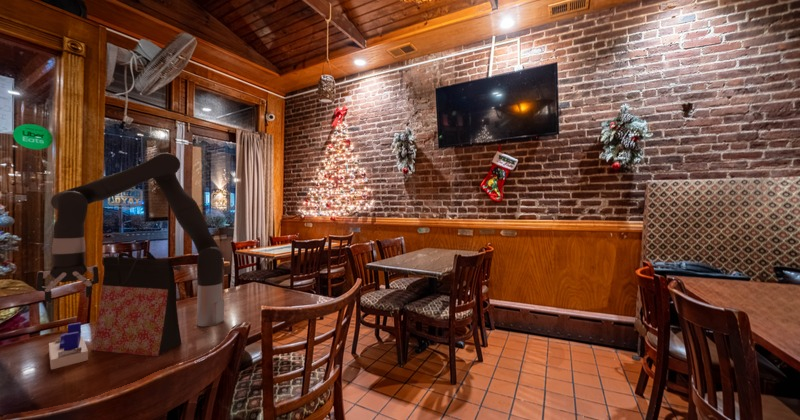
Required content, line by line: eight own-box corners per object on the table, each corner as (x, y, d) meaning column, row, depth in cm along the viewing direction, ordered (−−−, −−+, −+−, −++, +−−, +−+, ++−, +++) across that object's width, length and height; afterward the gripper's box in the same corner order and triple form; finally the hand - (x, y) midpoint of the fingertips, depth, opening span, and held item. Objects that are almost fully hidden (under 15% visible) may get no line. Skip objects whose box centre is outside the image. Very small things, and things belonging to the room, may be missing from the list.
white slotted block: (82, 344, 112) (82, 332, 112) (87, 360, 101) (88, 346, 101) (48, 351, 106) (49, 338, 106) (50, 369, 95) (51, 355, 95)
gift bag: (81, 354, 105) (83, 251, 105) (123, 336, 119) (125, 246, 119) (160, 361, 102) (162, 254, 101) (193, 342, 116) (195, 249, 116)
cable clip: (61, 342, 106) (62, 325, 106) (80, 339, 110) (80, 322, 110) (57, 355, 98) (57, 336, 98) (77, 351, 101) (77, 332, 101)
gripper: (97, 248, 111) (96, 293, 111) (35, 252, 100) (35, 302, 100) (100, 250, 106) (100, 297, 106) (36, 254, 95) (36, 307, 95)
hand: (68, 299), depth 103 cm, fingers open, 8 cm apart
